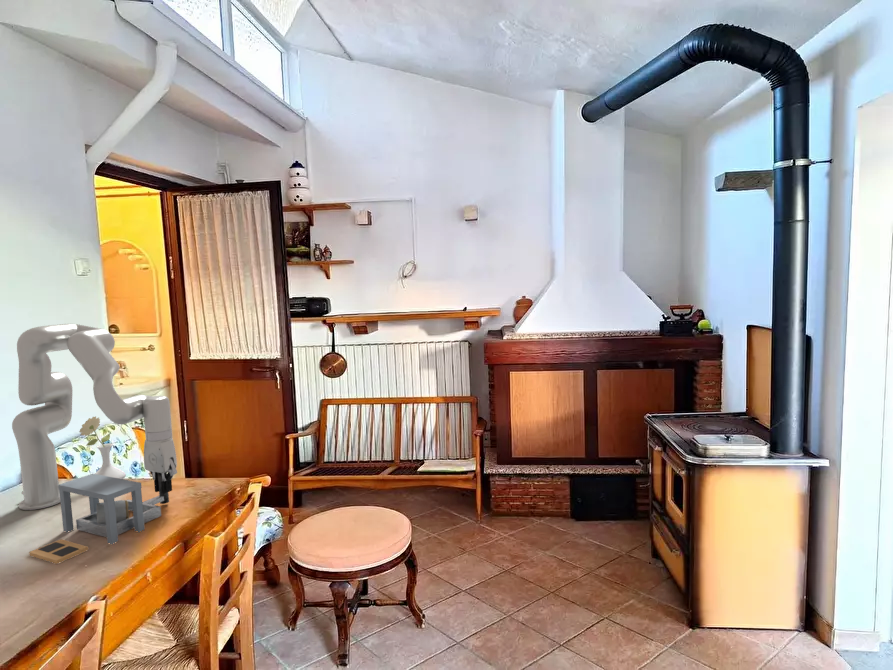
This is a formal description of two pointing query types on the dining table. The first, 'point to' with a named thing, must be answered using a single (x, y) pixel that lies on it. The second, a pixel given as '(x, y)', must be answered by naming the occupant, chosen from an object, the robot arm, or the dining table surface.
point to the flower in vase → (101, 449)
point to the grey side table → (106, 491)
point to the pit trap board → (58, 551)
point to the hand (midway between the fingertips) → (163, 490)
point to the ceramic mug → (120, 511)
